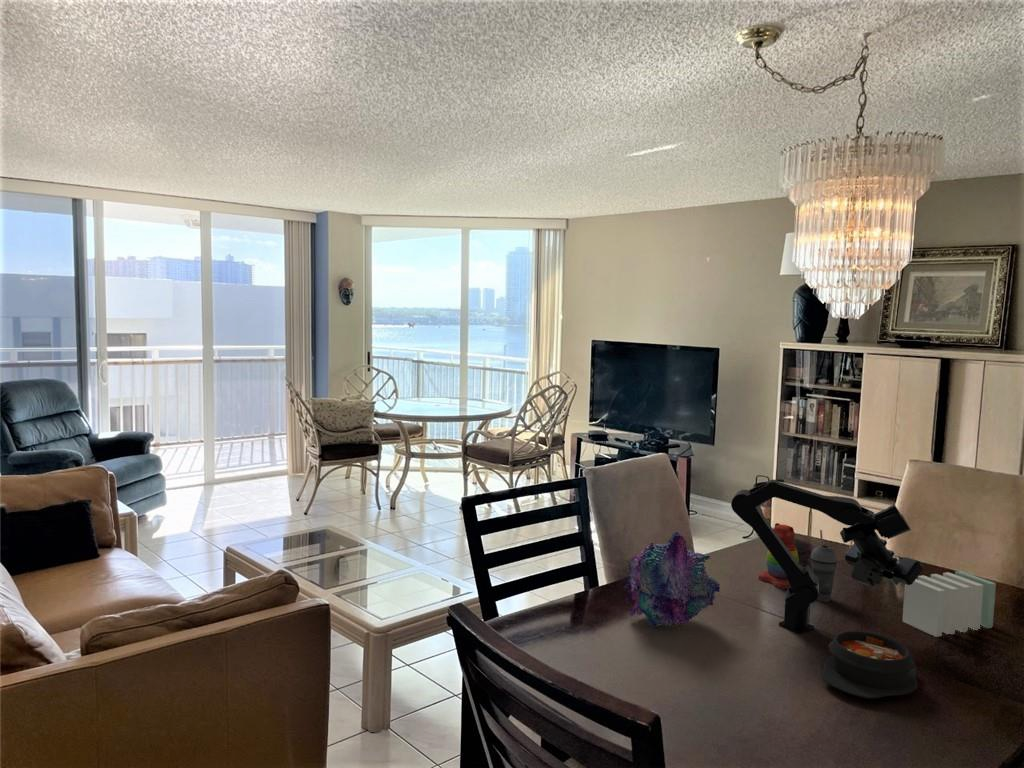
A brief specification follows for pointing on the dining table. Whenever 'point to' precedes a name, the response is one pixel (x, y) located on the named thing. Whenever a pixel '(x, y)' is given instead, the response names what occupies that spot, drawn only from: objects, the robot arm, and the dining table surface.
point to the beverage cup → (824, 569)
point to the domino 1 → (924, 607)
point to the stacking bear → (774, 569)
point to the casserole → (869, 665)
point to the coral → (669, 583)
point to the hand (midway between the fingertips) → (896, 583)
